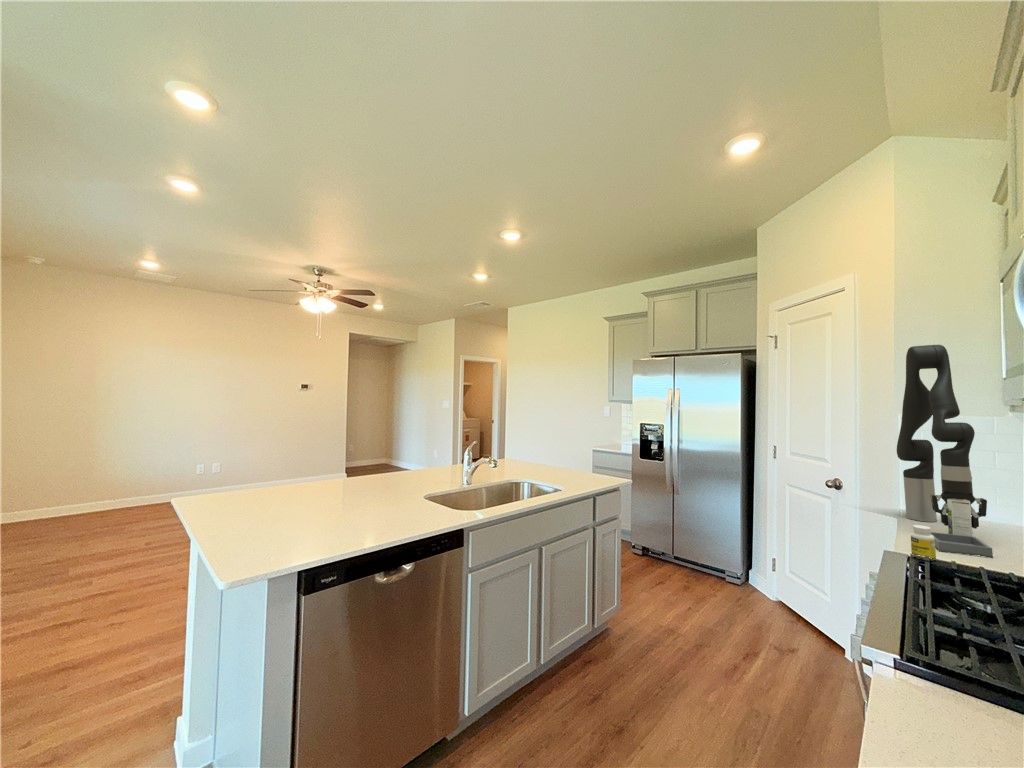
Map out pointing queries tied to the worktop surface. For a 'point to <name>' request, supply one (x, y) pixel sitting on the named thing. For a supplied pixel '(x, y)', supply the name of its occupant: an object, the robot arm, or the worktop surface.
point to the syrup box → (959, 517)
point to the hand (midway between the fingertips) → (959, 526)
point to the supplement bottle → (923, 542)
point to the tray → (961, 544)
